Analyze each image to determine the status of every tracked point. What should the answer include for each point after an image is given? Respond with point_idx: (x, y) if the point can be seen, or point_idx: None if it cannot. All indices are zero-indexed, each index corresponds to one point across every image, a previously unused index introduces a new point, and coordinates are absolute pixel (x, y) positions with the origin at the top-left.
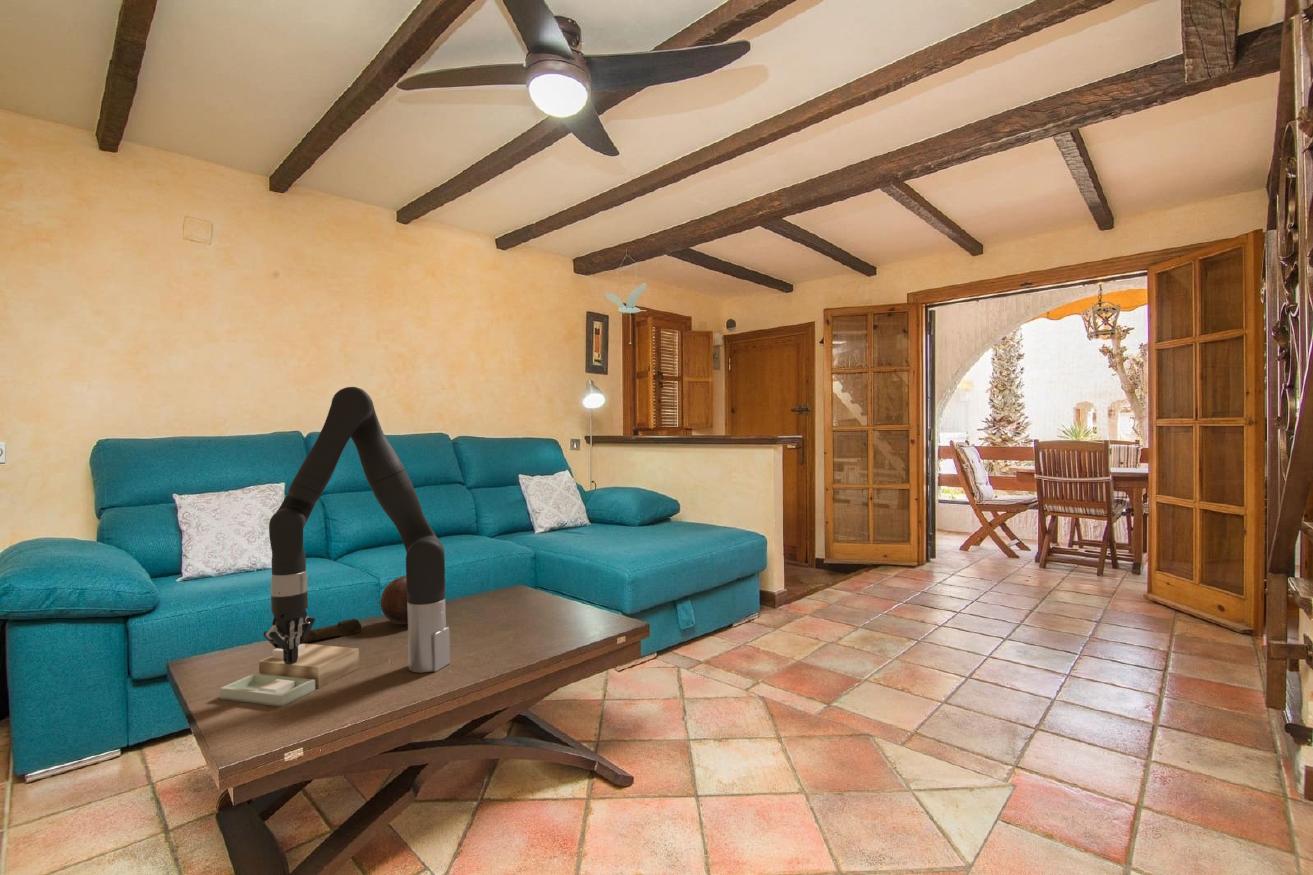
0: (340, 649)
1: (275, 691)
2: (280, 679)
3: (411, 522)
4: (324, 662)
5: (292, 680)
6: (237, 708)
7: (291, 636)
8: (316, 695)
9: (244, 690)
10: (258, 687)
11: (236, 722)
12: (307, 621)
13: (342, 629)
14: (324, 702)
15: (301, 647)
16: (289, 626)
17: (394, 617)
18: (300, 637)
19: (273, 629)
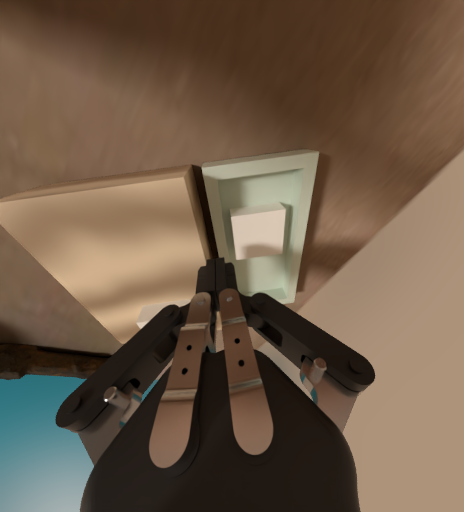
0: (54, 255)
1: (284, 208)
2: (236, 253)
3: None
4: (144, 200)
5: (224, 230)
6: (317, 236)
7: (241, 331)
8: (224, 122)
9: (298, 264)
10: (246, 276)
11: (380, 176)
12: (110, 405)
13: (24, 359)
14: (255, 16)
15: (148, 318)
16: (265, 400)
17: None
18: (178, 325)
19: (350, 405)
